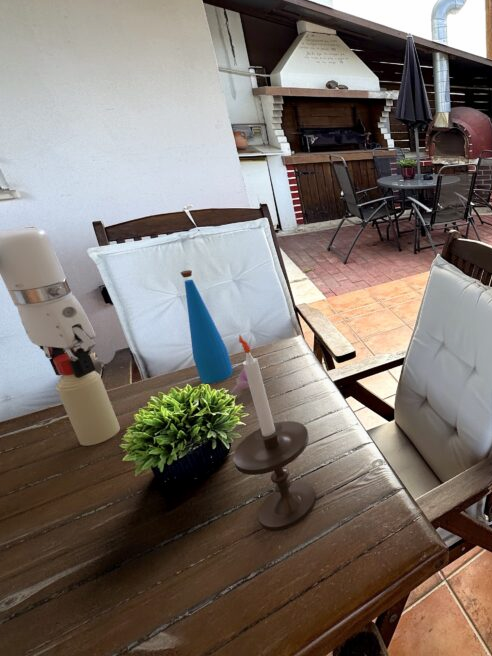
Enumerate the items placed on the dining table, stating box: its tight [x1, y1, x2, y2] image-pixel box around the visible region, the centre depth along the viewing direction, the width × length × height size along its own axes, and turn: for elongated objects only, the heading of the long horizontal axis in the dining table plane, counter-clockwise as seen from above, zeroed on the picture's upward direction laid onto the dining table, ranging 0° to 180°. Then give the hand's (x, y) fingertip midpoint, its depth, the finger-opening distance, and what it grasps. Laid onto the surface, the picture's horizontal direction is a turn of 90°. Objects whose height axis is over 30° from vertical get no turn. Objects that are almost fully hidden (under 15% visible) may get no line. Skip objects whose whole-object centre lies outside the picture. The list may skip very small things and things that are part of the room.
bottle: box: [180, 269, 234, 384], centre depth 104 cm, size 7×7×30 cm
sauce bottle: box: [55, 370, 121, 447], centre depth 85 cm, size 6×6×20 cm
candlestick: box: [232, 334, 317, 532], centre depth 66 cm, size 11×11×35 cm
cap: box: [53, 350, 76, 376], centre depth 82 cm, size 4×4×3 cm
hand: (76, 372), depth 83 cm, fingers closed on cap, 4 cm apart
